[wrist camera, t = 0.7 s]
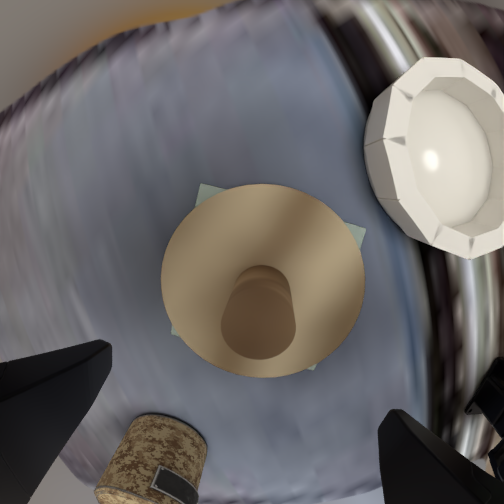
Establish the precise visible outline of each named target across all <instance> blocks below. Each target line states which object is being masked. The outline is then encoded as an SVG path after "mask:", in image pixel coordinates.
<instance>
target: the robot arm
mask: <svg viewBox="0 0 504 504" xmlns="http://www.w3.org/2000/svg"><path fill="white" fill-rule="evenodd" d="M111 368H112V345H111V344H110V343H108V342H106V341H104V340H101V339H99V340H94V341H91V342H87V343H83V344H79V345H75V346H71V347H67V348H63V349H59V350H55V351H51V352H47V353H42V354H38V355H34V356H30V357H25V358H21V359H16V360H12V361H8V362H2V363H0V504H27V503H28V502H29V500H30V497H31V496H32V495H33V493H34V492H35V490H36V489H37V487H38V485H39V484H40V482H41V481H42V479H43V478H44V476H45V474H46V473H47V471H48V470H49V468H50V467H51V465H52V463H53V462H54V461H55V459H56V458H57V456H58V455H59V453H60V452H61V450H62V449H63V447H64V446H65V444H66V443H67V441H68V440H69V438H70V437H71V435H72V434H73V432H74V431H75V430H76V428H77V427H78V425H79V424H80V422H81V421H82V419H83V418H84V416H85V415H86V414H87V412H88V411H89V409H90V408H91V406H92V404H93V403H94V401H95V399H96V397H97V395H98V393H99V391H100V389H101V388H102V386H103V384H104V382H105V380H106V378H107V376H108V375H109V373H110V371H111ZM465 413H466V414H467V415H470V414H482V413H483V414H484V416H485V417H486V418H487V420H488V421H489V422H490V424H491V425H492V426H493V427H494V429H495V430H496V432H497V433H498V434H499V436H500V437H501V438H502V440H501V441H500V442H499V443H498V444H497V445H496V447H495V448H494V449H492V450H491V451H490V452H489V453H488V456H489V459H490V463H491V466H492V469H493V472H494V475H495V477H493V476H491V475H490V474H488V473H487V472H485V471H484V470H482V469H480V468H479V467H478V466H476V465H475V464H474V463H472V462H470V461H469V460H468V459H467V458H465V457H464V456H463V455H461V454H460V453H459V452H457V451H456V450H455V449H453V448H452V447H451V446H449V445H448V444H447V443H445V442H444V441H443V440H441V439H440V438H439V437H437V436H436V435H435V434H433V433H432V432H431V431H429V430H428V429H427V428H425V427H424V426H423V425H422V424H420V423H419V422H418V421H416V420H415V419H414V418H412V417H411V416H410V415H409V414H407V413H406V412H405V411H403V410H401V409H392V410H390V411H389V412H388V414H387V415H386V417H385V418H384V420H383V421H382V423H381V424H380V426H379V428H378V445H379V463H380V473H381V480H382V487H383V494H384V501H385V504H504V358H500V357H499V358H497V359H496V360H495V361H494V363H493V365H492V367H491V368H490V370H489V372H488V374H487V375H486V377H485V379H484V381H483V382H482V384H481V386H480V387H479V389H478V390H477V392H476V394H475V395H474V397H473V398H472V400H471V401H470V403H469V404H468V406H467V407H466V409H465Z"/></svg>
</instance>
